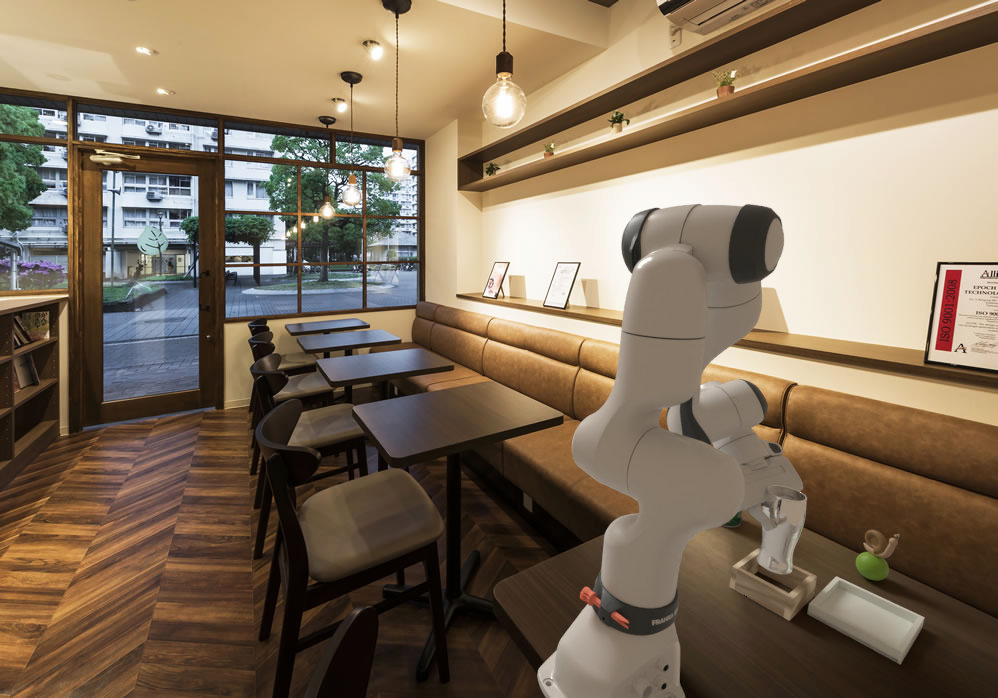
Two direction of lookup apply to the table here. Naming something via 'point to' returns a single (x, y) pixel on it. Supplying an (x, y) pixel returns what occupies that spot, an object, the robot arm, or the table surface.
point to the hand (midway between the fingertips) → (784, 524)
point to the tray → (867, 618)
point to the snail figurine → (875, 555)
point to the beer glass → (782, 529)
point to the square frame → (770, 594)
